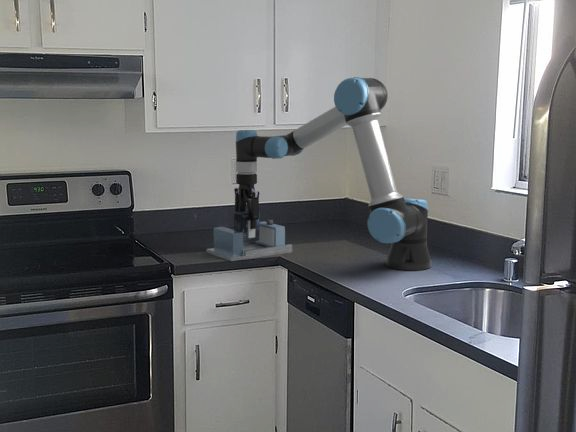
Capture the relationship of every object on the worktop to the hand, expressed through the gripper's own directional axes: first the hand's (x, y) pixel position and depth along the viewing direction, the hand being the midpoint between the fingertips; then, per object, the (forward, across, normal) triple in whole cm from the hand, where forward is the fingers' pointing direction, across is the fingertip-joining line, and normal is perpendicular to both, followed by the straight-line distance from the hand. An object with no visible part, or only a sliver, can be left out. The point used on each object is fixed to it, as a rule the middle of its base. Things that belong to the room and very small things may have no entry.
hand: (246, 236), depth 272 cm
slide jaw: (+5, 0, -10) cm, 11 cm away
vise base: (+6, 0, -1) cm, 6 cm away
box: (+2, 0, 0) cm, 2 cm away
